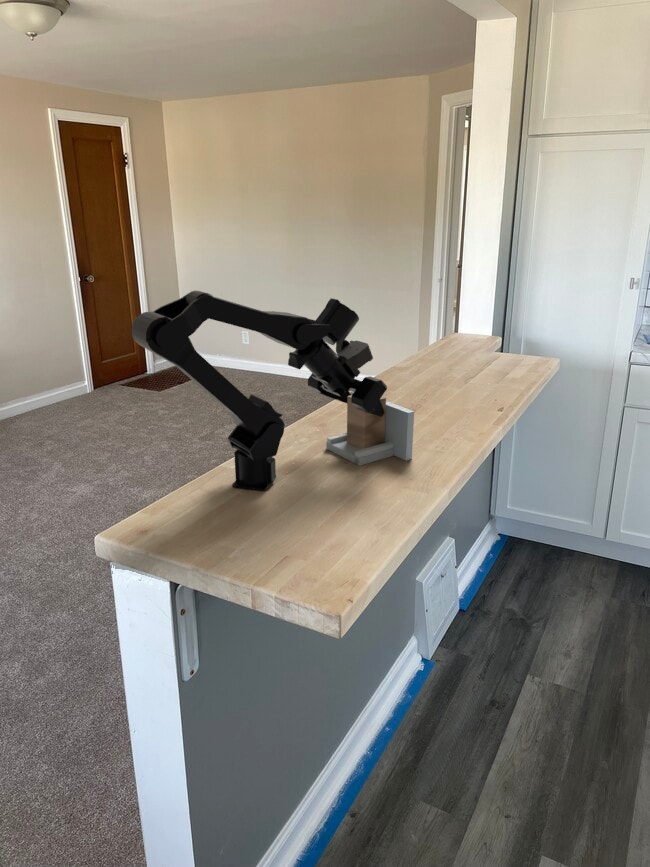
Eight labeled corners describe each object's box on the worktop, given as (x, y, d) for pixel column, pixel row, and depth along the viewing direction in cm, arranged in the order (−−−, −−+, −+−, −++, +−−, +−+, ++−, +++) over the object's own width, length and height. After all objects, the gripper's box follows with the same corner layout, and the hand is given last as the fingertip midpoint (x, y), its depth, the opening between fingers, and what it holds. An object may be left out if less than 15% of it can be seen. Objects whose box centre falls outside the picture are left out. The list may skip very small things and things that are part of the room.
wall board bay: (371, 471, 123) (372, 422, 119) (316, 443, 136) (316, 398, 133) (411, 458, 128) (414, 411, 125) (355, 433, 142) (356, 390, 139)
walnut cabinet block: (363, 450, 129) (364, 402, 125) (346, 442, 133) (347, 396, 129) (384, 444, 132) (386, 398, 128) (367, 436, 136) (368, 391, 132)
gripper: (381, 337, 114) (422, 387, 124) (319, 322, 128) (361, 368, 138) (345, 387, 112) (390, 434, 122) (287, 366, 126) (331, 409, 136)
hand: (367, 408), depth 130 cm, fingers open, 9 cm apart
